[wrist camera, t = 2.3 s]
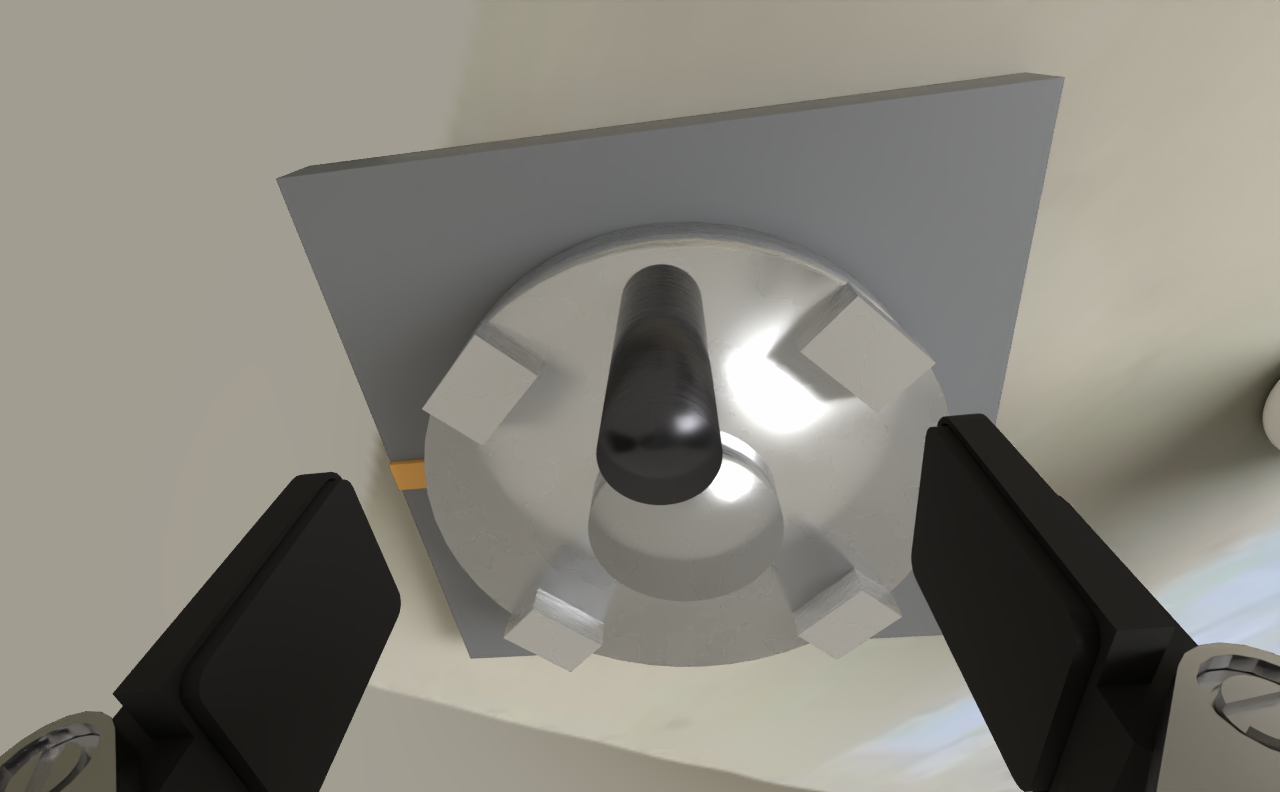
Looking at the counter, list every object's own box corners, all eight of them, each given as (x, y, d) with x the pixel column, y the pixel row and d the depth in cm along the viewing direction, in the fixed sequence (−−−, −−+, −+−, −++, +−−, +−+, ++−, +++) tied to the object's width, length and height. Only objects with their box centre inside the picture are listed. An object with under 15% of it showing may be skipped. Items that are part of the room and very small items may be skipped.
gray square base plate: (309, 166, 20) (272, 180, 18) (1026, 72, 18) (1068, 77, 16) (481, 623, 31) (469, 662, 29) (936, 598, 29) (955, 638, 27)
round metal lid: (381, 254, 19) (166, 425, 11) (957, 189, 17) (1215, 330, 9) (508, 625, 27) (442, 877, 19) (902, 604, 26) (1011, 868, 18)
